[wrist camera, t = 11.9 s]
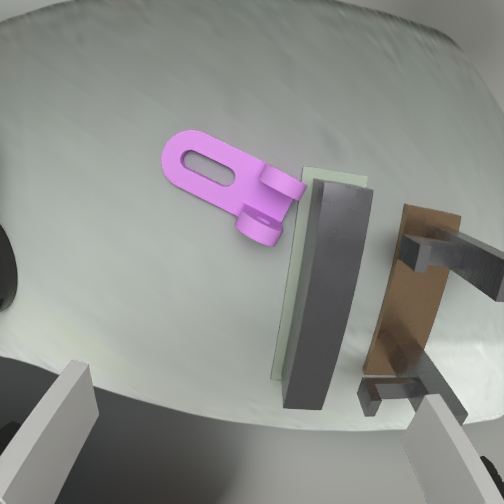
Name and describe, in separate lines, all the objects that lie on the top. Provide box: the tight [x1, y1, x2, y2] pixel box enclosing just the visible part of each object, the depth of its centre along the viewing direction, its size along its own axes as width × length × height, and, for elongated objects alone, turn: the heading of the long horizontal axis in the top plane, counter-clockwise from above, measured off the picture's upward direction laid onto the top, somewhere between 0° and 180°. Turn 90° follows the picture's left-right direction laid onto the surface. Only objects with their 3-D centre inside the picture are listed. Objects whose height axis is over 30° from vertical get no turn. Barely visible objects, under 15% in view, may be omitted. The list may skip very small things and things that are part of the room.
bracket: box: [161, 130, 307, 247], centre depth 27 cm, size 13×6×7 cm, turn 63°
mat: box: [271, 166, 368, 381], centre depth 33 cm, size 6×24×1 cm, turn 174°
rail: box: [281, 178, 374, 410], centre depth 30 cm, size 4×22×6 cm, turn 174°
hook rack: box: [357, 204, 504, 426], centre depth 26 cm, size 10×20×14 cm, turn 174°
